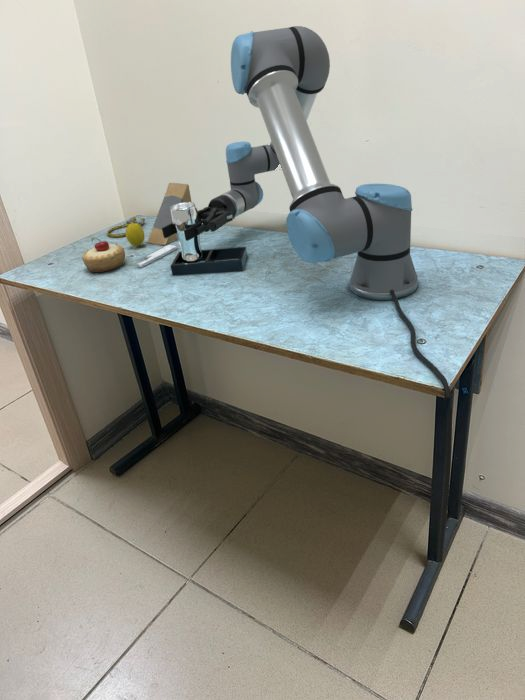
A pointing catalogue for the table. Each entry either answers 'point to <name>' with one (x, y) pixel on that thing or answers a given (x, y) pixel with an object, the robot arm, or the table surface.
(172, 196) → the sandwich container
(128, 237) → the lemon
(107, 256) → the pastry
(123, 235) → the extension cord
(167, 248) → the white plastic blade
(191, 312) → the table surface
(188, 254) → the beer glass
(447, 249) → the table surface
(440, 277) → the table surface
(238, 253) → the black divided tray
